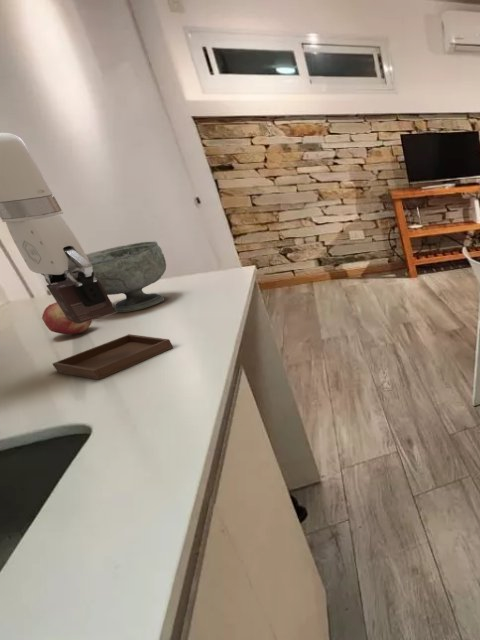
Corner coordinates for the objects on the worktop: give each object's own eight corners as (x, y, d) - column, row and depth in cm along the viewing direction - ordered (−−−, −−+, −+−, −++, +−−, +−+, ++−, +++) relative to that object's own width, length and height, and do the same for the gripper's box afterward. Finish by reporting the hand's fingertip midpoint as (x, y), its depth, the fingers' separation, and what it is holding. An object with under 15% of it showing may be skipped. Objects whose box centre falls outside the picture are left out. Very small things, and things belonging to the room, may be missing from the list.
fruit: (66, 342, 107) (46, 309, 103) (46, 339, 109) (25, 307, 106) (107, 327, 114) (89, 296, 110) (86, 325, 116) (68, 294, 112)
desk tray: (99, 379, 89) (93, 370, 88) (57, 372, 93) (51, 363, 92) (173, 347, 100) (169, 339, 99) (133, 342, 104) (129, 334, 104)
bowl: (115, 299, 133) (86, 247, 126) (195, 287, 138) (171, 237, 131) (69, 326, 116) (32, 268, 109) (161, 312, 121) (132, 255, 114)
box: (118, 313, 93) (98, 278, 90) (77, 325, 89) (55, 288, 86) (106, 308, 96) (87, 274, 93) (66, 320, 92) (45, 284, 89)
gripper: (-28, 213, 83) (32, 307, 91) (29, 214, 78) (88, 313, 85) (29, 204, 89) (80, 293, 97) (85, 204, 84) (135, 298, 92)
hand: (83, 301), depth 91 cm, fingers closed on box, 6 cm apart
